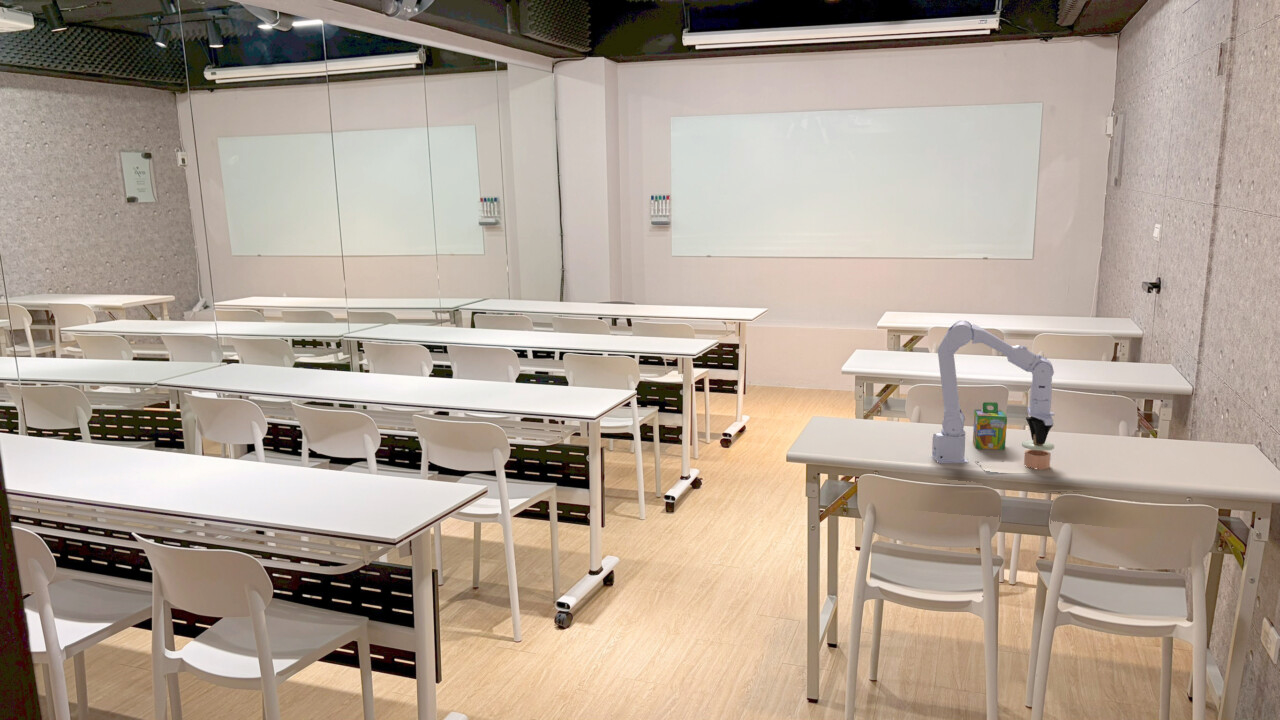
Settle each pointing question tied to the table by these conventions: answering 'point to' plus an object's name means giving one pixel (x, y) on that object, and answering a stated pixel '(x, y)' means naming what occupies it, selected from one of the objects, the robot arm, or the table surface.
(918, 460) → the table surface
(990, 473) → the mat
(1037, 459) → the bowl
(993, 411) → the chalk box
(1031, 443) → the lid
